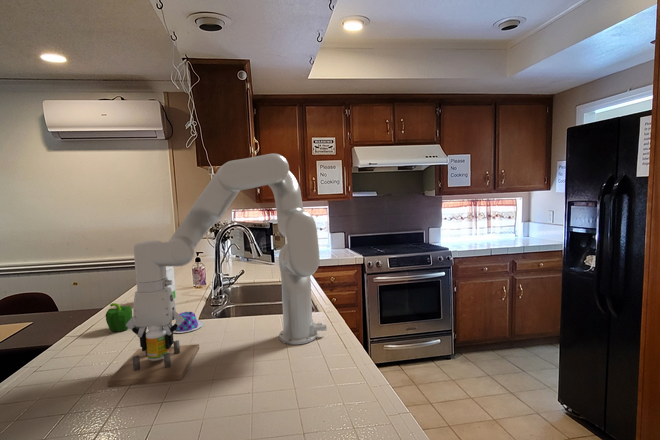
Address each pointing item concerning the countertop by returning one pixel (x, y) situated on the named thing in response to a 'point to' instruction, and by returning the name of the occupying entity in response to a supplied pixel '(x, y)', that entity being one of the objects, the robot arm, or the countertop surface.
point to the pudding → (188, 323)
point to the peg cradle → (155, 366)
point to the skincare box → (171, 277)
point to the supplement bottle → (156, 343)
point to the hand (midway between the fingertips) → (157, 347)
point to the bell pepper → (118, 317)
